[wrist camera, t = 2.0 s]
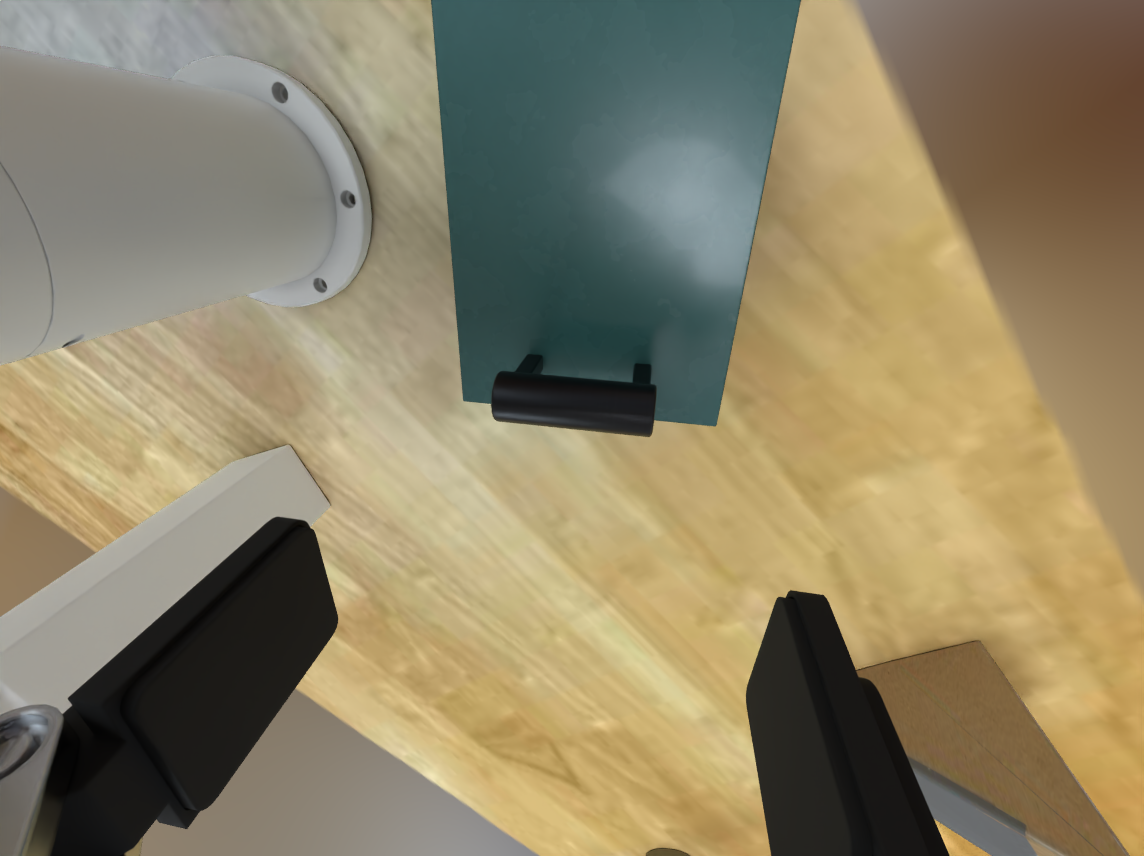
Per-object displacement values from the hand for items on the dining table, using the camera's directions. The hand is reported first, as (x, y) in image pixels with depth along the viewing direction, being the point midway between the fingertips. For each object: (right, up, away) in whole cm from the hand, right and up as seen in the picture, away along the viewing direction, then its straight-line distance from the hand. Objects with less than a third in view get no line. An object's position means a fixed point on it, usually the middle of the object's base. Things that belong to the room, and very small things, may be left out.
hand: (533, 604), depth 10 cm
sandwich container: (+27, -18, +29) cm, 44 cm away
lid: (+2, +11, +9) cm, 14 cm away
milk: (-22, -1, +29) cm, 36 cm away
